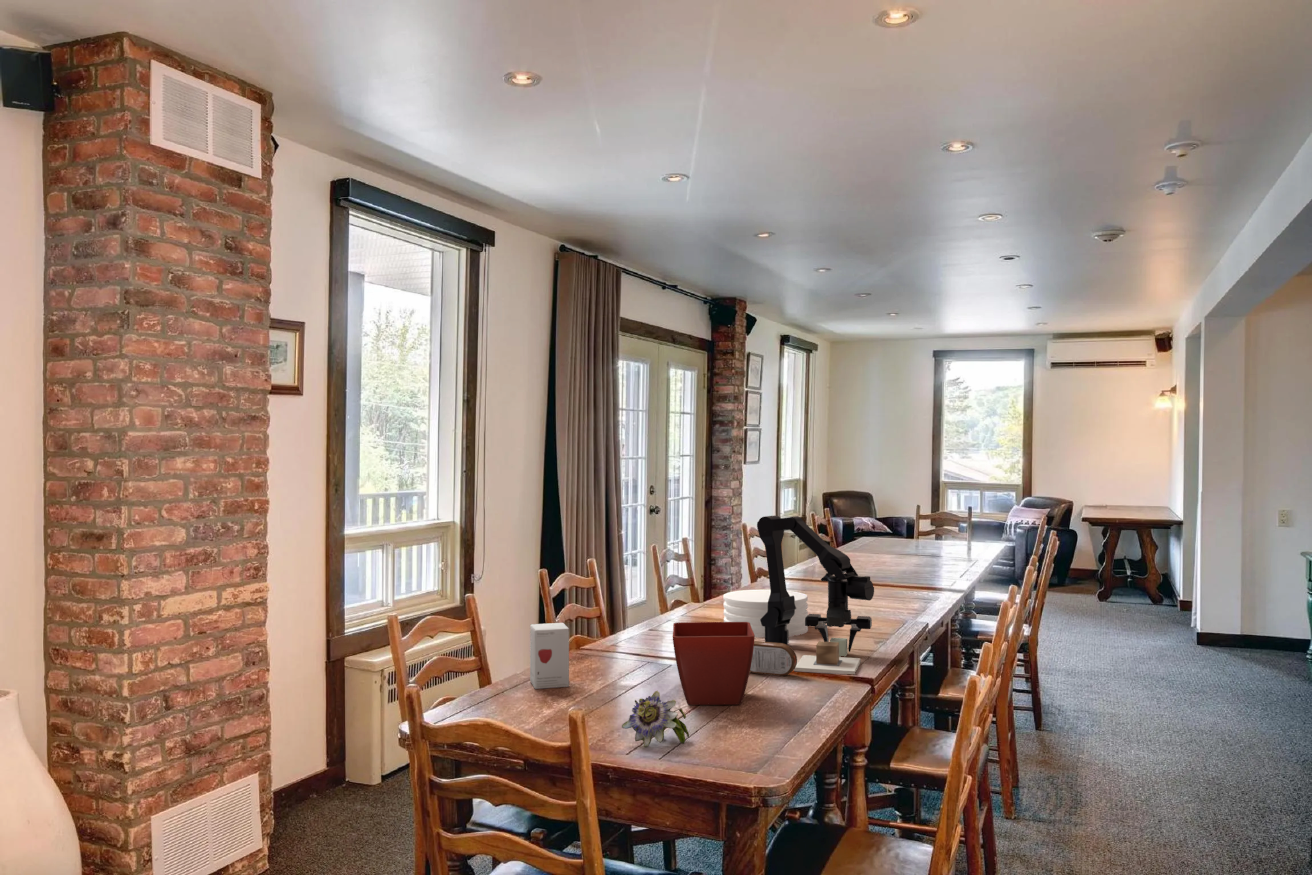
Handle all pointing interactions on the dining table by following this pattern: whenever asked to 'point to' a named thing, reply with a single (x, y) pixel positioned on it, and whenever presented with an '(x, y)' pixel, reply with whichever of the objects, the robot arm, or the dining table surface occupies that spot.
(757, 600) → the plate stack
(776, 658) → the tin
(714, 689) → the plant pot
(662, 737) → the passion flower
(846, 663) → the off-white flat square slab
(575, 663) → the dining table surface
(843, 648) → the sage block
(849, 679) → the dining table surface
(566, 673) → the supplement box
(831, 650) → the walnut block
